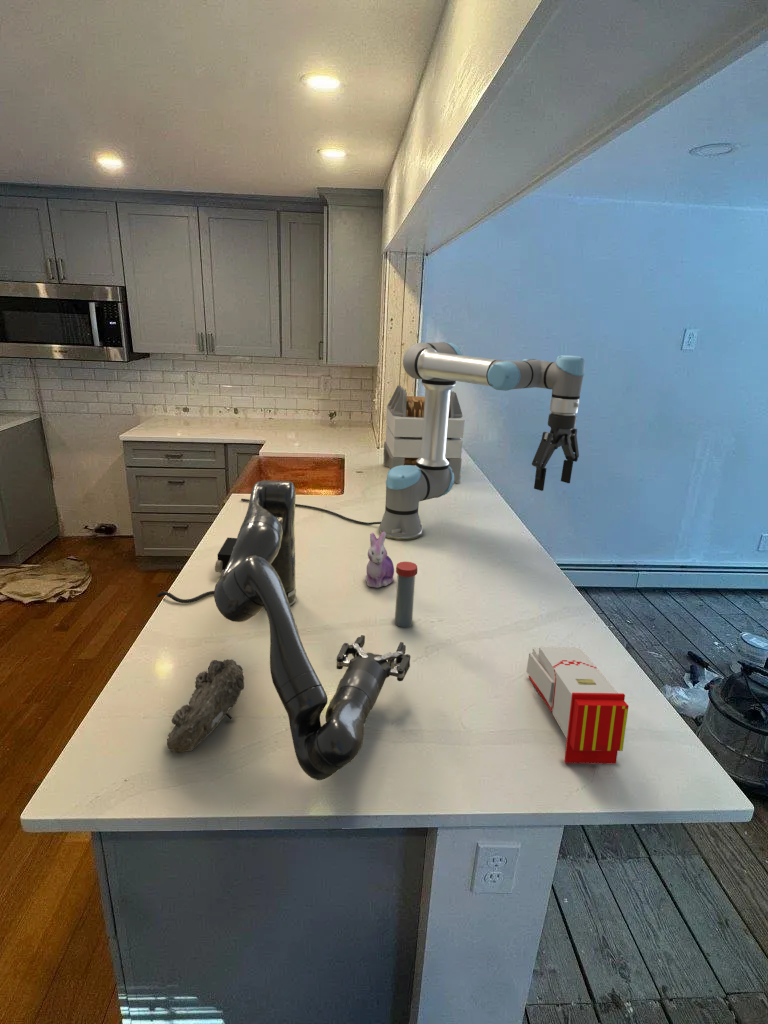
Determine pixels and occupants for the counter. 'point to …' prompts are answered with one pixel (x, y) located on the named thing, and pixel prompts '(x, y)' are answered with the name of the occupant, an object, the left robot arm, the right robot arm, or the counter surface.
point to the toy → (580, 703)
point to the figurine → (379, 563)
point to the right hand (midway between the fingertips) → (552, 485)
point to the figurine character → (225, 554)
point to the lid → (406, 569)
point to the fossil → (206, 705)
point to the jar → (404, 601)
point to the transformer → (419, 431)
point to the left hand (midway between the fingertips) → (382, 642)
